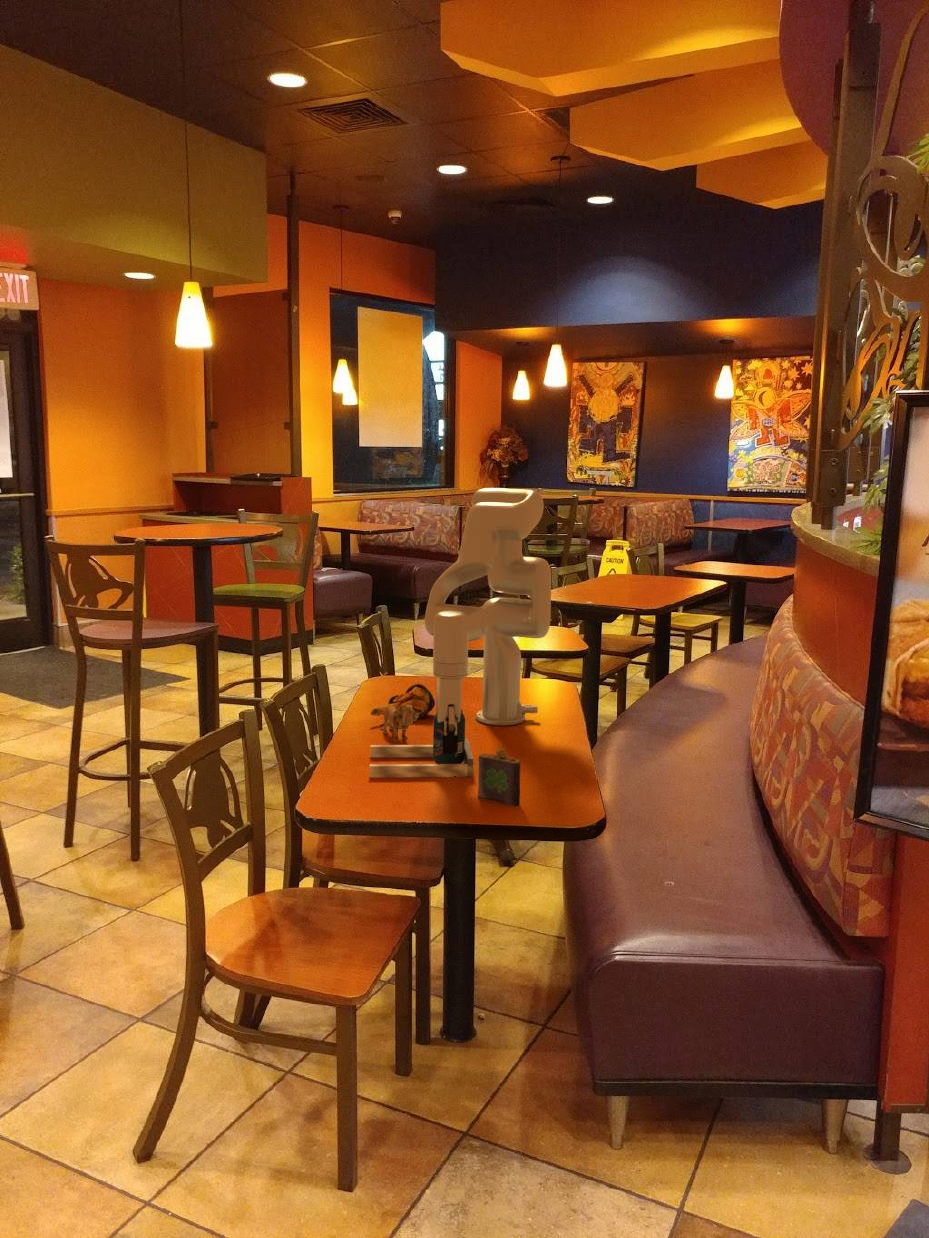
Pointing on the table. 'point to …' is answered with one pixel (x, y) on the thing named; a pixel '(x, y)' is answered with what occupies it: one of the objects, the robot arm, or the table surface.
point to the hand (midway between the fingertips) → (448, 746)
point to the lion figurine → (399, 719)
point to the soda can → (438, 742)
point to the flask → (499, 778)
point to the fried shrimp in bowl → (411, 701)
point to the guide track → (417, 769)
